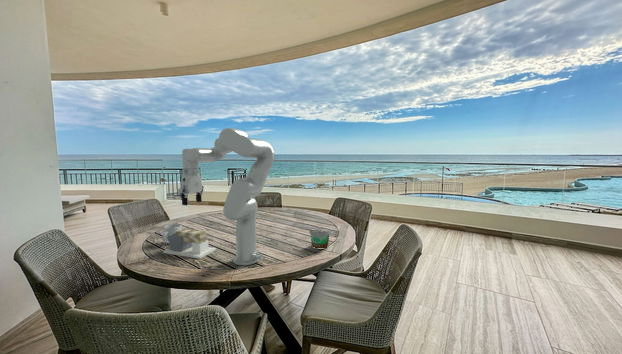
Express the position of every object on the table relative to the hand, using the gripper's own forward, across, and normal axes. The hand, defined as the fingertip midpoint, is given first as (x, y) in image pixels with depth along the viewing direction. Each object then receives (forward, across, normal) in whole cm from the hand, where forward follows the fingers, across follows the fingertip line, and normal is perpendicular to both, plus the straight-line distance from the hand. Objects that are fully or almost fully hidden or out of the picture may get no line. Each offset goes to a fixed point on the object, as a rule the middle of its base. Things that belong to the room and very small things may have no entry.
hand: (192, 203), depth 126 cm
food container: (+26, +22, -65) cm, 74 cm away
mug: (+26, +4, +20) cm, 33 cm away
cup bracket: (+26, -2, -1) cm, 26 cm away
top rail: (+20, -2, -1) cm, 20 cm away
